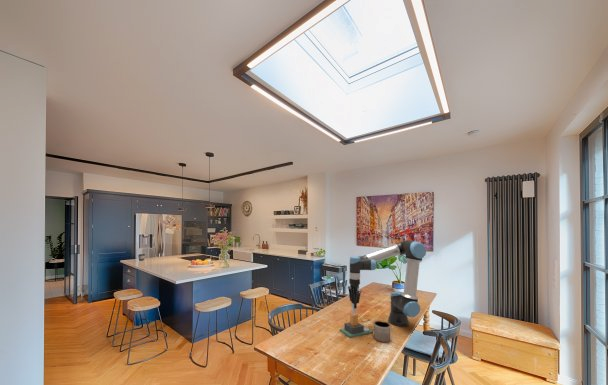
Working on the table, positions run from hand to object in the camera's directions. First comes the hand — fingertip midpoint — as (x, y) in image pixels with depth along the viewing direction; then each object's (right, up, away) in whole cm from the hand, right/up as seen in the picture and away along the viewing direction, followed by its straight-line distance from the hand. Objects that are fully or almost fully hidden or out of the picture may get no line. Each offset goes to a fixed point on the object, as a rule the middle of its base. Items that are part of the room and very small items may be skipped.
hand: (354, 312), depth 181 cm
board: (+1, -14, 0) cm, 14 cm away
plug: (0, -11, -1) cm, 12 cm away
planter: (+17, -14, -10) cm, 24 cm away
